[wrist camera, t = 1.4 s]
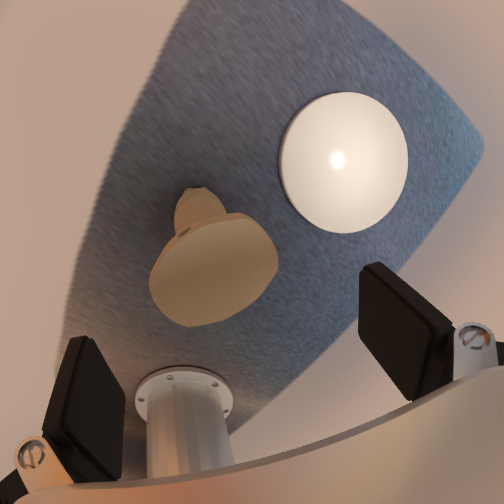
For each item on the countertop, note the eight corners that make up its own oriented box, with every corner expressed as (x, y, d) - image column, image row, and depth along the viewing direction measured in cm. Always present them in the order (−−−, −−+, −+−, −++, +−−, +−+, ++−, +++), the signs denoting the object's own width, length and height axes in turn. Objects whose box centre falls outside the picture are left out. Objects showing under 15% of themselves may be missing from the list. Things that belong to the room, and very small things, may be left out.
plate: (401, 214, 34) (409, 218, 33) (288, 242, 32) (293, 247, 31) (393, 91, 28) (401, 90, 27) (267, 100, 27) (271, 98, 25)
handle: (239, 204, 30) (294, 276, 16) (182, 242, 30) (190, 341, 16) (211, 160, 28) (244, 197, 14) (152, 201, 28) (129, 275, 14)
